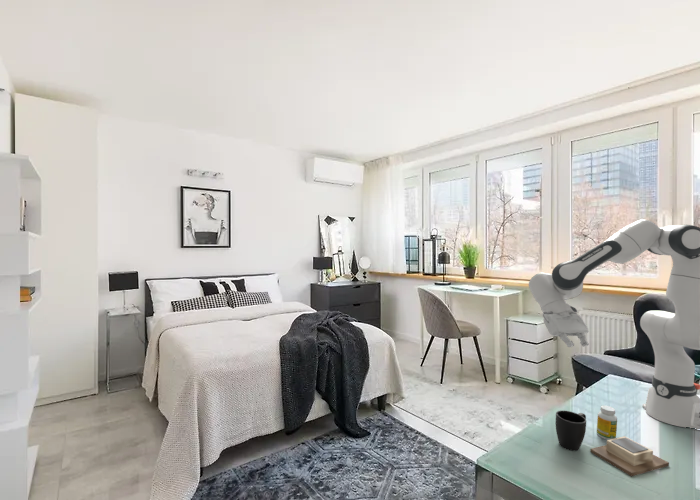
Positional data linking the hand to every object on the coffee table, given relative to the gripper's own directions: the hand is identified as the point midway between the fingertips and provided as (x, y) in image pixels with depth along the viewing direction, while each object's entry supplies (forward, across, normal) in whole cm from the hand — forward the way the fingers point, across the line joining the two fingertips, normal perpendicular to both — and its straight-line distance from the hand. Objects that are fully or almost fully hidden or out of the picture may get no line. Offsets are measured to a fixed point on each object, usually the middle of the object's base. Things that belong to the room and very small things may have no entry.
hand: (578, 346), depth 132 cm
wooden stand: (+35, -6, +3) cm, 35 cm away
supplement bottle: (+28, +1, +10) cm, 30 cm away
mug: (+28, -14, +12) cm, 33 cm away
